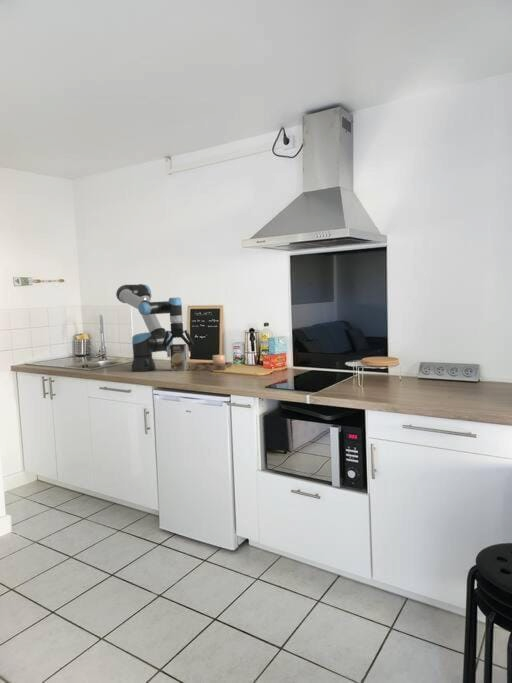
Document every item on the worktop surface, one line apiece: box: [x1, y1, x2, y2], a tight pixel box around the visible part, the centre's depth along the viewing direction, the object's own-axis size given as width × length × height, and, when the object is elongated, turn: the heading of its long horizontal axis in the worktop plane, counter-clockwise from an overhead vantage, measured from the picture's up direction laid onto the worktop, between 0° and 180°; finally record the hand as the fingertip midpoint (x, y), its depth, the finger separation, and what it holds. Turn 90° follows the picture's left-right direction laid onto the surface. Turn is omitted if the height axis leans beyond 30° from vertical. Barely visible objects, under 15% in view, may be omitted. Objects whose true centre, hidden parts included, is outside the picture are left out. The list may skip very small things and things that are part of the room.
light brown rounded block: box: [212, 354, 226, 366], centre depth 297 cm, size 8×8×8 cm
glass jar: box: [170, 343, 188, 372], centre depth 302 cm, size 9×6×16 cm
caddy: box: [187, 361, 233, 371], centre depth 298 cm, size 23×14×4 cm, turn 75°
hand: (178, 356), depth 302 cm, fingers open, 13 cm apart
